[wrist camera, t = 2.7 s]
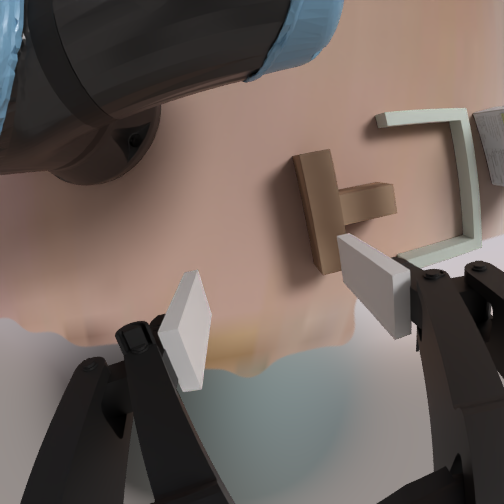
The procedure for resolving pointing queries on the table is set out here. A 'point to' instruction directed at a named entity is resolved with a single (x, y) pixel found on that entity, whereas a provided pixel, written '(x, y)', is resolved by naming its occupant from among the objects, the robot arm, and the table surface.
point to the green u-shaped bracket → (465, 175)
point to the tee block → (335, 206)
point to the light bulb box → (492, 140)
